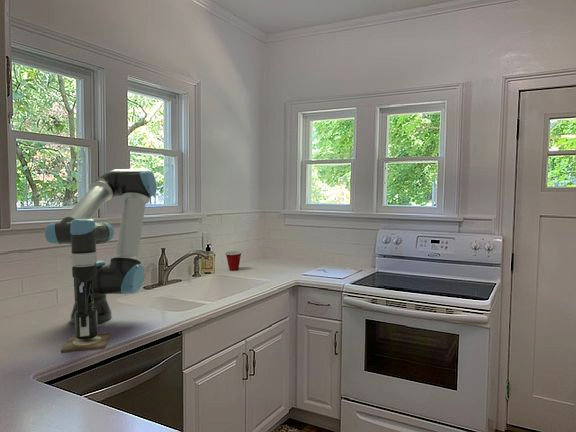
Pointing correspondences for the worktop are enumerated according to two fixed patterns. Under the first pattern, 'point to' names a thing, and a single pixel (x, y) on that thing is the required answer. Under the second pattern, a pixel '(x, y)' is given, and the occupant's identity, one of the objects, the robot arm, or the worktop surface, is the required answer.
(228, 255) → the plastic cup
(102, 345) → the board
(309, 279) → the worktop surface
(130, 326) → the worktop surface
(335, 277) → the worktop surface
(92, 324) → the supplement bottle
